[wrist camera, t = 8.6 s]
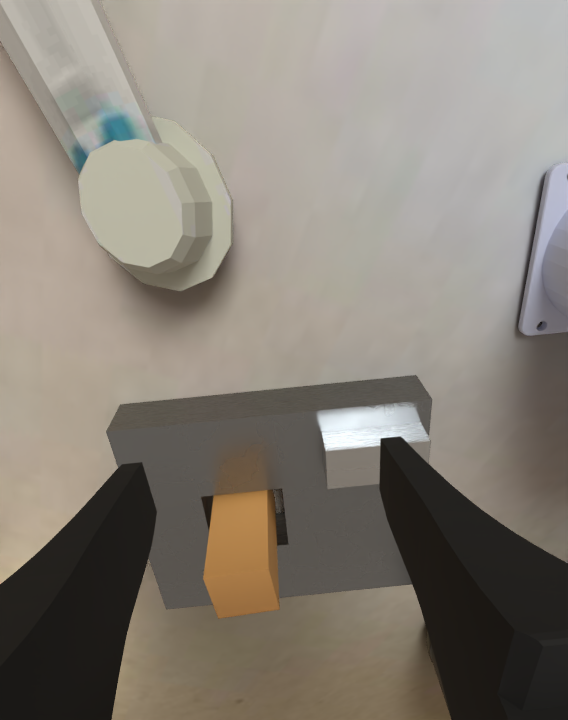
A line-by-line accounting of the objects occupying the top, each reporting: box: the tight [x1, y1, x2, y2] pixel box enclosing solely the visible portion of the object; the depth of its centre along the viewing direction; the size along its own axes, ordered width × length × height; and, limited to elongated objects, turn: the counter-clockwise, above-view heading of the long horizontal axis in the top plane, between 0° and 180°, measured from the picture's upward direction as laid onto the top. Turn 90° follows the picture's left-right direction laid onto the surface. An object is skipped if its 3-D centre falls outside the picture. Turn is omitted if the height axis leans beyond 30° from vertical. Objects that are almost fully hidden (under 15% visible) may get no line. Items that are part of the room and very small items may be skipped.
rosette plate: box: [106, 375, 432, 609], centre depth 25 cm, size 16×14×4 cm
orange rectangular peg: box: [203, 490, 280, 619], centre depth 23 cm, size 3×3×7 cm
